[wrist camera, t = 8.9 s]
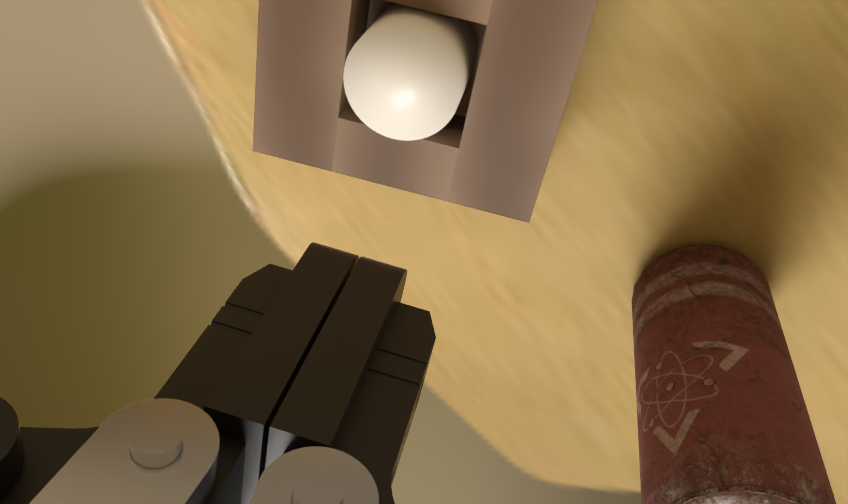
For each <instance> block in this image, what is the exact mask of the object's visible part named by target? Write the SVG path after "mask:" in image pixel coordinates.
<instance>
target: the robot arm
mask: <svg viewBox="0 0 848 504" xmlns="http://www.w3.org/2000/svg"><path fill="white" fill-rule="evenodd" d="M406 275H407V270H406V269H402V268H399V267H396V266H392V265H389V264H385V263H382V262H379V261H375V260H372V259H369V258H365V257H360V259H359V256H358V255H355V254H351V253H348V252H344V251H341V250H338V249H334V248H331V247H328V246H324V245H321V244H318V243H314V242H313V243H311V244H310V245H309V247H308V248H307V250H306V251H305V253H304V254H303V256H302V257H301V259H300V260H299V262H298V263H297V265H296V266H295V268H294V269H293V271H292V270H289V269H286V268H282V267H279V266H276V265H272V264H269V265H267V266H265V267H263V268H262V269H260V270H258V271H256V272H254V273H253V274H251V275H249V276H247V277H246V278H244V279H243V280H242V281H241V282H240V283H239V285H238V286H237V288H236V289H235V290H234V292H233V293H232V294H231V296H230V297H229V298H228V300H227V301H226V304H225V306H224V307H223V306H222V308H221V309H220V310H219V312H218V313H217V314H216V316H215V317H214V319H213V320H212V323H211V325H208V327H207V328H206V329H205V331H204V332H203V333H202V335H201V336H200V337H199V339H198V340H197V341H196V343H195V344H194V345H193V347H192V348H191V349H190V351H189V352H188V354H187V355H186V356H185V358H184V359H183V360H182V362H181V363H180V364H179V366H178V367H177V368H176V370H175V371H174V372H173V374H172V375H171V377H170V378H169V379H168V381H167V382H166V384H165V385H164V386H163V387H162V389H161V390H160V391H159V393H158V394H157V395H156V396H155V398H154V399H148V400H144V401H140V402H136V403H134V404H131V405H128V406H126V407H124V408H122V409H120V410H119V411H117V412H116V413H114V414H113V415H111V416H110V417H109V418H108V419H107V420H106V421H105V422H104V423H103V424H102V425H101V426H100V427H94V428H83V429H65V428H32V427H20V426H19V421H18V417H17V414H16V412H15V411H14V409H13V407H12V406H11V405H10V404H9V403H8V402H6V400H4V399H2V398H0V504H395V503H394V500H393V496H392V489H391V485H392V483H393V479H394V476H395V473H396V470H397V467H398V464H399V461H400V457H401V454H402V451H403V448H404V445H405V442H406V438H407V435H408V432H409V429H410V426H411V423H412V419H413V417H414V413H415V410H416V407H417V404H418V400H419V396H420V393H421V389H422V386H423V382H424V379H425V375H426V371H427V368H428V364H429V361H430V357H431V353H432V350H433V346H434V343H435V339H436V336H435V332H434V328H433V324H432V319H431V315H430V312H429V311H426V310H423V309H419V308H416V307H413V306H409V305H406V304H403V303H400V302H401V298H402V294H403V289H404V285H405V281H406Z"/></svg>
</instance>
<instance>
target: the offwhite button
mask: <svg viewBox="0 0 848 504" xmlns="http://www.w3.org/2000/svg"><path fill="white" fill-rule="evenodd" d="M476 55H477V48H476V40H475V36H474V33H473V31H472V28H471V26H470V24H469V23H468V21H467V20H463V19H459V18H455V17H451V16H447V15H443V14H439V13H435V12H430V11H426V10H422V9H418V8H414V7H410V6H406V5H402V4H397V3H392V4H391V5H390V6H388V7H387V8H386V9H385V10H384V11H383V12H382V14H381V15H380V16H379V17H378V18H377V19H376V20H375V22H374V23H373V24H372V25H371V26H370V27H369V28H368V30H367V31H366V32H365V33H364V34H363V35H362V36H361V38H360V39H359V40H358V41H357V42H356V43H355V45H354V46H353V47H352V49H351V50H350V52H349V54H348V56H347V59H346V62H345V66H344V74H343V81H344V89H345V93H346V96H347V99H348V101H349V103H350V105H351V107H352V109H353V111H354V112H355V114H356V115H357V116H358V117H359V118H360V120H361V121H362V122H363V123H364V124H366V125H367V126H368V127H369V128H371V129H372V130H374V131H375V132H377V133H379V134H381V135H383V136H385V137H388V138H392V139H396V140H404V141H411V140H419V139H423V138H426V137H429V136H431V135H433V134H435V133H437V132H438V131H440V130H441V129H442V128H443V127H445V126H446V125H447V124H448V122H449V121H450V120H451V119H452V117H453V115H454V114H455V112H456V109H457V107H458V105H459V103H460V100H461V98H462V95H463V93H464V91H465V88H466V86H467V83H468V81H469V79H470V76H471V74H472V72H473V69H474V66H475V62H476Z"/></svg>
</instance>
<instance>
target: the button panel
mask: <svg viewBox="0 0 848 504" xmlns="http://www.w3.org/2000/svg"><path fill="white" fill-rule="evenodd" d="M392 3H397V4H402V5H406V6H410V7H414V8H418V9H422V10H426V11H430V12H435V13H439V14H443V15H447V16H451V17H455V18H459V19H463V20H467V21H468V23H469V24H470V26H471V28H472V31H473V33H474V36H475V40H476V48H477V55H476V62H475V66H474V69H473V72H472V74H471V76H470V79H469V81H468V83H467V86H466V88H465V91H464V93H463V95H462V98H461V100H460V103H459V105H458V107H457V109H456V112H455V114H454V115H453V117H452V119H451V120H450V121H449V122H448V124H447V125H446V126H445V127H443V128H442V129H441V130H440V131H438V132H437V133H435V134H433V135H431V136H429V137H426V138H423V139H419V140H411V141H404V140H396V139H392V138H388V137H385V136H383V135H381V134H379V133H377V132H375V131H374V130H372V129H371V128H369V127H368V126H367V125H366V124H364V123H363V122H362V121H361V120H360V118H359V117H358V116H357V115H356V114H355V112H354V111H353V109H352V107H351V105H350V103H349V101H348V99H347V96H346V93H345V89H344V81H343V74H344V66H345V62H346V59H347V56H348V54H349V52H350V50H351V49H352V47H353V46H354V45H355V43H356V42H357V41H358V40H359V39H360V38H361V36H362V35H363V34H364V33H365V32H366V31H367V30H368V28H369V27H370V26H371V25H372V24H373V23H374V22H375V20H376V19H377V18H378V17H379V16H380V15H381V14H382V12H383V11H384V10H385V9H386V8H387V7H388V6H390V5H391V4H392ZM597 3H598V0H259V14H258V38H257V62H256V86H255V110H254V134H253V151H255V152H259V153H263V154H267V155H270V156H274V157H278V158H282V159H286V160H290V161H294V162H297V163H301V164H305V165H309V166H313V167H317V168H320V169H324V170H328V171H332V172H336V173H340V174H344V175H347V176H351V177H355V178H359V179H363V180H367V181H370V182H374V183H378V184H382V185H386V186H390V187H394V188H397V189H401V190H405V191H409V192H413V193H417V194H420V195H424V196H428V197H432V198H436V199H440V200H444V201H447V202H451V203H455V204H459V205H463V206H467V207H470V208H474V209H478V210H482V211H486V212H490V213H494V214H497V215H501V216H505V217H509V218H513V219H517V220H520V221H524V222H528V223H529V221H530V218H531V215H532V212H533V209H534V205H535V202H536V199H537V196H538V193H539V189H540V186H541V183H542V180H543V176H544V173H545V170H546V167H547V164H548V160H549V157H550V154H551V151H552V148H553V144H554V141H555V138H556V135H557V132H558V128H559V125H560V122H561V119H562V115H563V112H564V109H565V106H566V103H567V99H568V96H569V93H570V90H571V87H572V83H573V80H574V77H575V74H576V71H577V67H578V64H579V61H580V58H581V55H582V51H583V48H584V45H585V42H586V38H587V35H588V32H589V29H590V26H591V22H592V19H593V16H594V13H595V10H596V6H597Z"/></svg>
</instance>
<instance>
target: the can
mask: <svg viewBox="0 0 848 504" xmlns="http://www.w3.org/2000/svg"><path fill="white" fill-rule="evenodd" d="M632 316H633V336H634V356H635V377H636V397H637V418H638V438H639V458H640V479H641V496H642V497H641V499H642V504H836V502H835V498H834V495H833V492H832V489H831V486H830V482H829V479H828V476H827V473H826V469H825V466H824V463H823V460H822V456H821V453H820V450H819V447H818V444H817V440H816V437H815V434H814V431H813V427H812V424H811V421H810V418H809V414H808V411H807V408H806V405H805V402H804V398H803V395H802V392H801V389H800V385H799V382H798V379H797V376H796V372H795V369H794V366H793V363H792V360H791V356H790V353H789V350H788V347H787V343H786V340H785V337H784V334H783V330H782V327H781V324H780V321H779V318H778V314H777V311H776V308H775V305H774V301H773V298H772V295H771V292H770V288H769V285H768V282H767V281H766V279H765V277H764V276H763V274H762V272H761V270H760V269H759V267H757V266H756V265H755V264H754V263H752V262H751V261H750V260H749V259H747V258H746V257H745V256H744V255H741V254H738V253H736V252H733V251H730V250H728V249H725V248H722V247H714V246H704V245H697V246H691V247H684V248H679V249H677V250H675V251H672V252H670V253H668V254H665V255H663V256H661V257H660V258H658V259H657V260H656V261H655V262H653V263H652V264H651V265H650V266H648V267H647V268H646V269H645V270H644V271H643V273H642V274H641V276H640V277H639V279H638V281H637V282H636V284H635V286H634V292H633V297H632Z"/></svg>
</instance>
